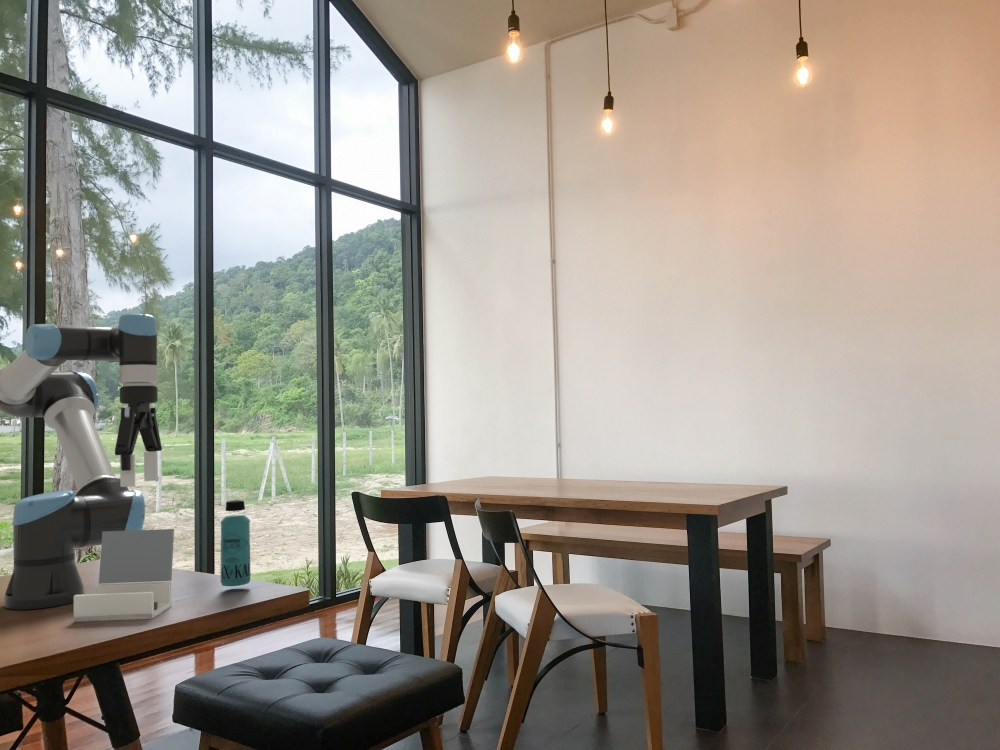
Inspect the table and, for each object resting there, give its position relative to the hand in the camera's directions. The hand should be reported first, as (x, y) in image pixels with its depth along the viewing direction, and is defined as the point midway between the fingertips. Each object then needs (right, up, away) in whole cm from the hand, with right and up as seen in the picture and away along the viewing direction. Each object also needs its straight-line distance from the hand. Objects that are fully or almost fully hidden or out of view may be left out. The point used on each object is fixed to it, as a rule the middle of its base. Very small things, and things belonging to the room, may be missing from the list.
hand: (139, 483), depth 172 cm
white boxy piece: (+2, -25, -12) cm, 27 cm away
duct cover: (+2, -14, -6) cm, 16 cm away
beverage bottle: (+19, -25, +7) cm, 32 cm away
